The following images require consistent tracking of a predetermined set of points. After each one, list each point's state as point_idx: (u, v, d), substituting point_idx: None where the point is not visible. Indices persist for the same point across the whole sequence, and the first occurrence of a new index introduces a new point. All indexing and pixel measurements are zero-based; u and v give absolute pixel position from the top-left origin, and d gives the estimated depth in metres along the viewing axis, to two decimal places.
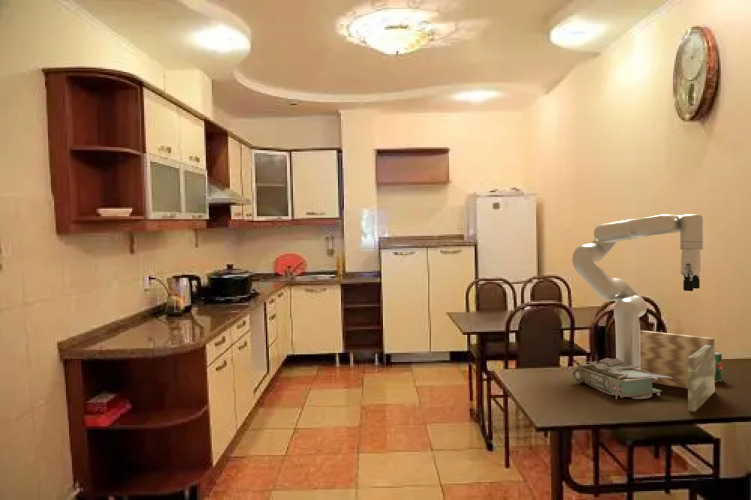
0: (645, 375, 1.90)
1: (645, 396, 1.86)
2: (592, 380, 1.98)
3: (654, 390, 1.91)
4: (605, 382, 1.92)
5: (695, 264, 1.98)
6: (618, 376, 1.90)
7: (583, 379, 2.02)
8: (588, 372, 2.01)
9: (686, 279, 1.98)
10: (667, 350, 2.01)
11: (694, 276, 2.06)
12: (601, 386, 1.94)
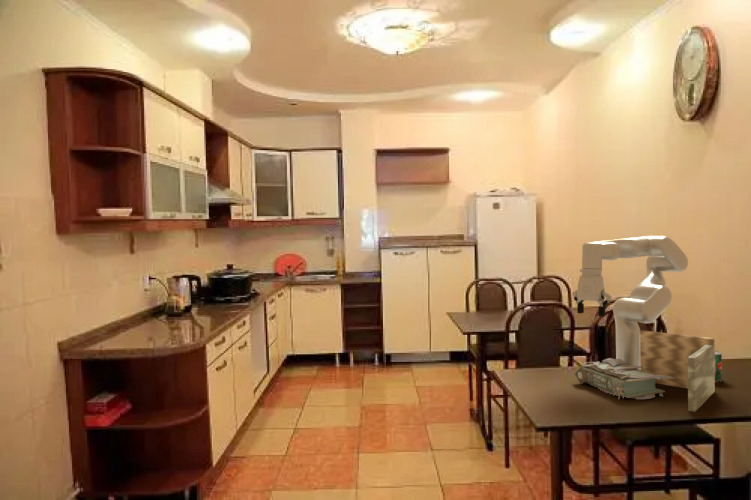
0: (648, 375, 1.90)
1: (648, 396, 1.86)
2: (595, 380, 1.98)
3: (657, 390, 1.91)
4: (608, 382, 1.92)
5: None
6: (621, 376, 1.89)
7: (586, 379, 2.02)
8: (591, 372, 2.01)
9: (604, 305, 2.05)
10: (667, 350, 2.01)
11: (580, 301, 2.15)
12: (604, 386, 1.94)
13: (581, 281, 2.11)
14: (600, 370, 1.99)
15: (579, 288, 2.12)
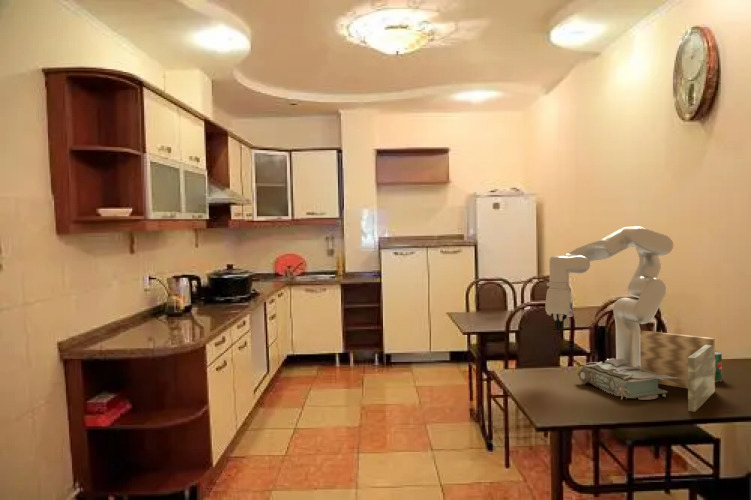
0: (651, 376, 1.89)
1: (651, 397, 1.85)
2: (597, 380, 1.98)
3: (660, 391, 1.90)
4: (610, 383, 1.91)
5: None
6: (623, 377, 1.89)
7: (588, 379, 2.02)
8: (593, 372, 2.00)
9: (563, 319, 2.12)
10: (667, 350, 2.01)
11: (557, 317, 2.15)
12: (606, 387, 1.94)
13: (549, 294, 2.14)
14: (603, 370, 1.98)
15: (548, 302, 2.14)
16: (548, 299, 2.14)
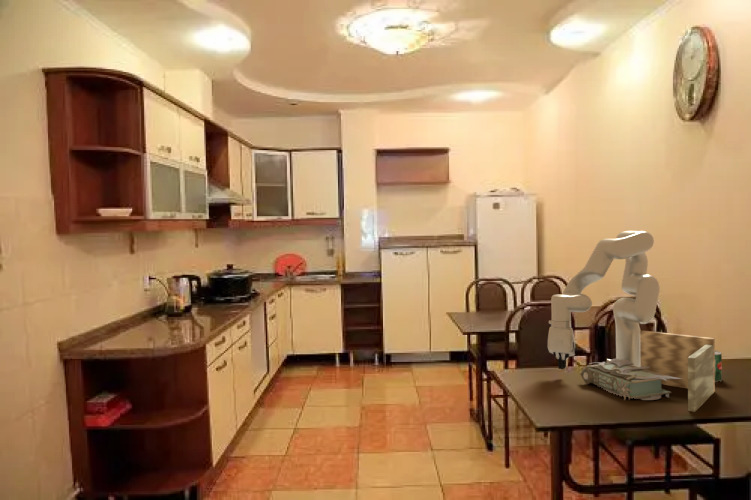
0: (654, 376, 1.89)
1: (654, 397, 1.85)
2: (600, 381, 1.97)
3: (663, 391, 1.90)
4: (613, 383, 1.91)
5: None
6: (626, 377, 1.88)
7: (591, 380, 2.01)
8: (596, 373, 2.00)
9: (566, 358, 2.13)
10: (667, 350, 2.01)
11: (559, 355, 2.15)
12: (609, 387, 1.93)
13: (552, 333, 2.14)
14: (606, 370, 1.98)
15: (550, 340, 2.14)
16: (550, 337, 2.14)
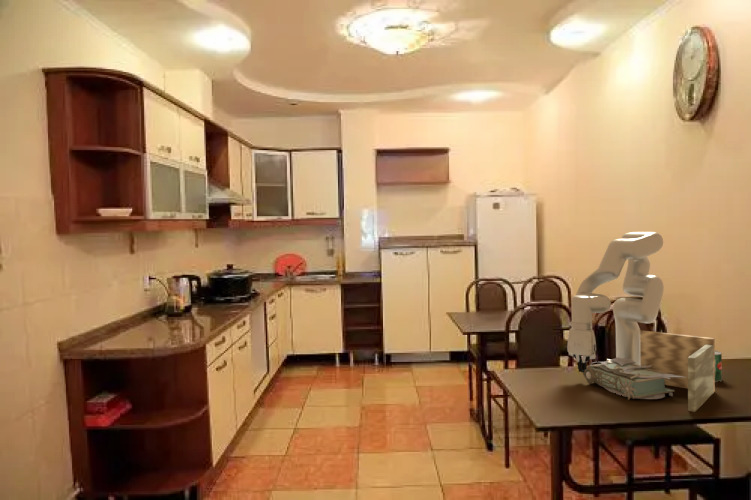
0: (657, 375, 1.89)
1: (658, 396, 1.85)
2: (603, 380, 1.97)
3: (666, 390, 1.89)
4: (617, 382, 1.90)
5: None
6: (630, 376, 1.88)
7: (594, 379, 2.01)
8: (599, 372, 1.99)
9: (586, 361, 2.07)
10: (667, 350, 2.01)
11: (579, 358, 2.09)
12: (613, 386, 1.93)
13: (572, 335, 2.08)
14: (609, 370, 1.97)
15: (570, 343, 2.08)
16: (570, 340, 2.08)
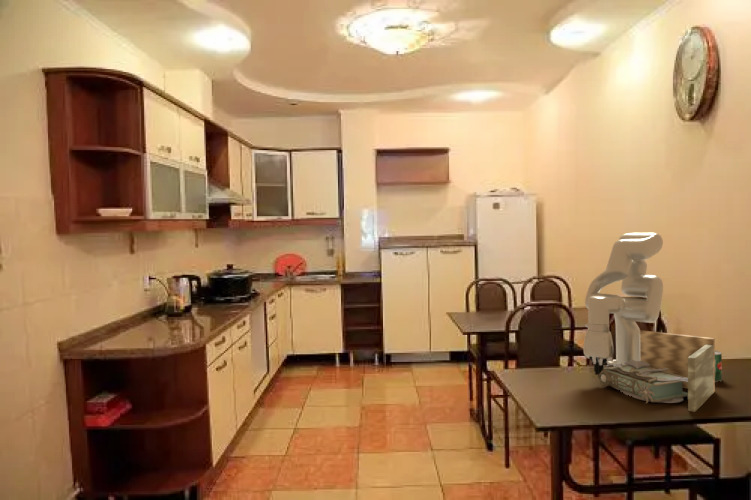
0: (675, 378, 1.85)
1: (676, 400, 1.81)
2: (619, 383, 1.92)
3: (684, 393, 1.86)
4: (634, 385, 1.86)
5: None
6: (648, 379, 1.84)
7: (609, 382, 1.97)
8: (615, 375, 1.95)
9: (603, 363, 2.02)
10: (667, 350, 2.01)
11: (596, 360, 2.04)
12: (630, 390, 1.88)
13: (588, 337, 2.03)
14: (625, 373, 1.93)
15: (587, 344, 2.04)
16: (587, 341, 2.04)
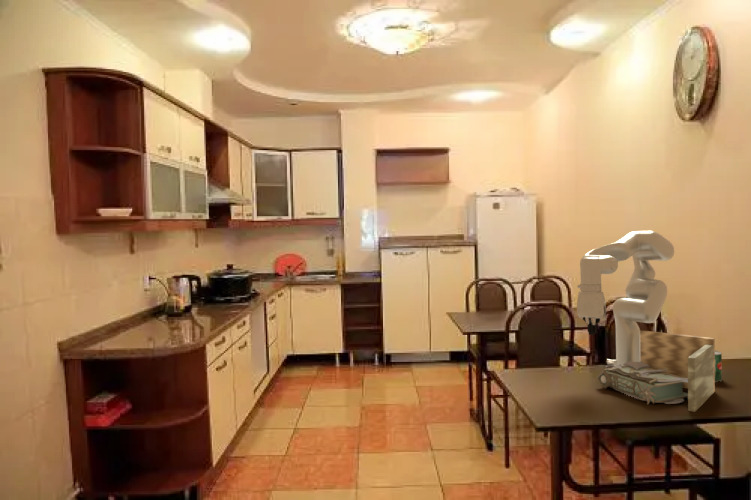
0: (676, 379, 1.85)
1: (677, 401, 1.80)
2: (620, 384, 1.92)
3: (684, 394, 1.86)
4: (635, 387, 1.86)
5: None
6: (649, 380, 1.83)
7: (610, 383, 1.96)
8: (615, 376, 1.94)
9: (596, 323, 2.04)
10: (667, 350, 2.01)
11: (589, 321, 2.06)
12: (630, 391, 1.88)
13: (581, 298, 2.05)
14: (625, 374, 1.93)
15: (580, 305, 2.05)
16: (580, 302, 2.05)
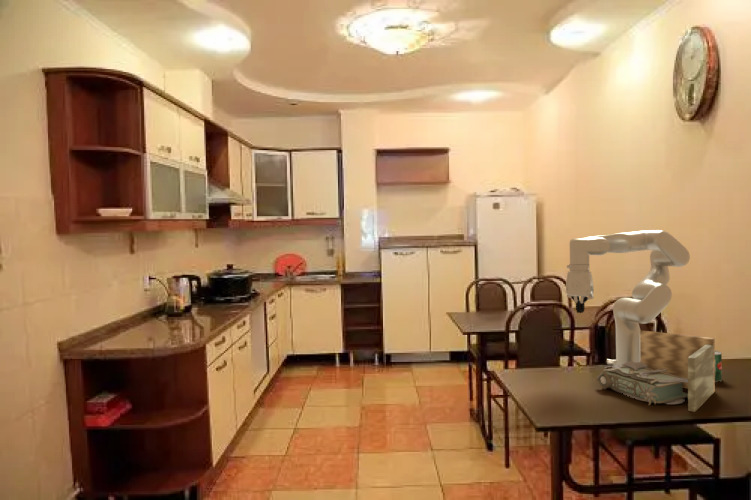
0: (676, 379, 1.84)
1: (678, 401, 1.80)
2: (620, 385, 1.91)
3: (684, 394, 1.85)
4: (636, 387, 1.85)
5: None
6: (650, 381, 1.83)
7: (610, 384, 1.95)
8: (615, 377, 1.94)
9: (584, 302, 2.12)
10: (667, 350, 2.01)
11: (577, 299, 2.14)
12: (631, 391, 1.87)
13: (570, 277, 2.14)
14: (625, 374, 1.92)
15: (568, 284, 2.14)
16: (568, 282, 2.14)
